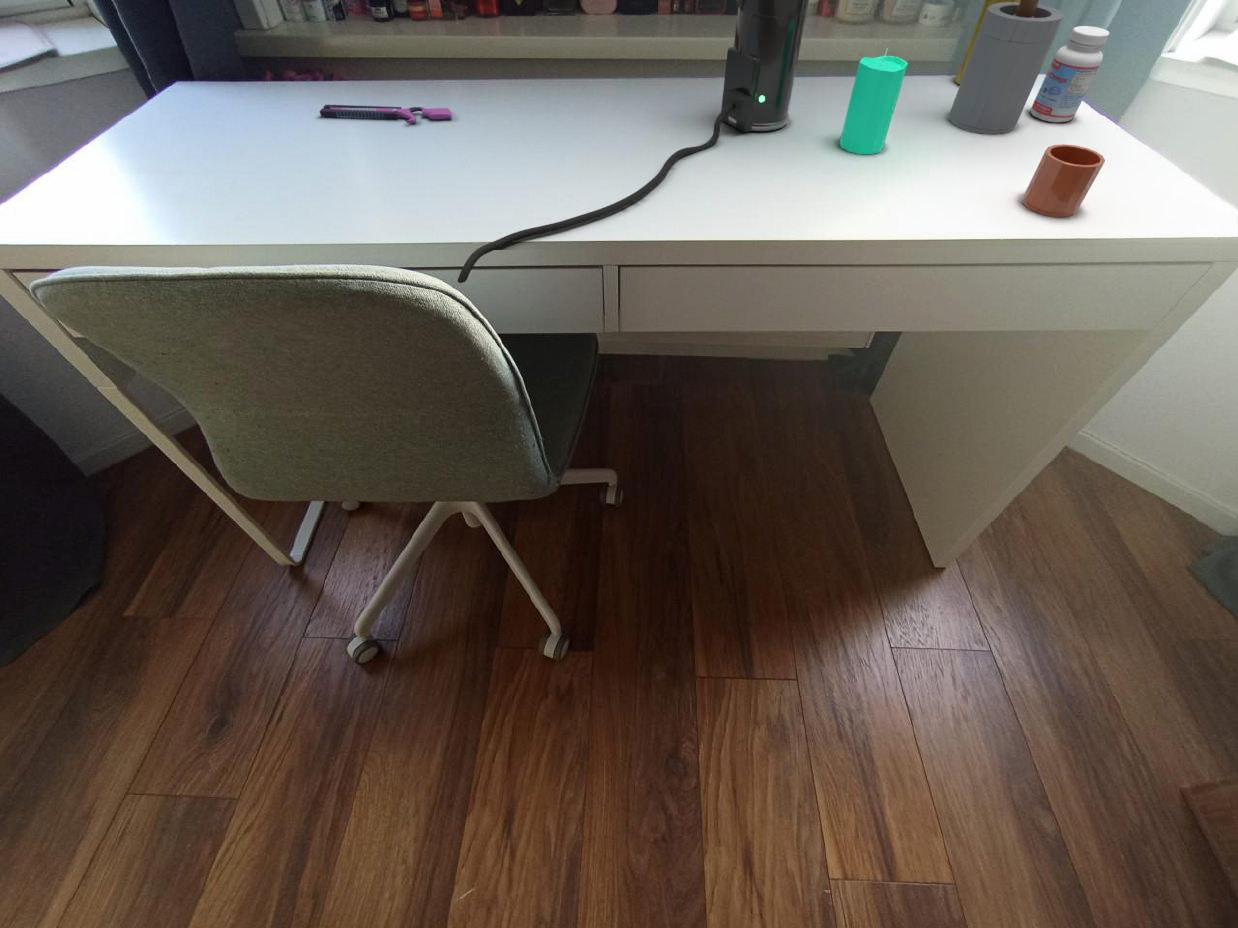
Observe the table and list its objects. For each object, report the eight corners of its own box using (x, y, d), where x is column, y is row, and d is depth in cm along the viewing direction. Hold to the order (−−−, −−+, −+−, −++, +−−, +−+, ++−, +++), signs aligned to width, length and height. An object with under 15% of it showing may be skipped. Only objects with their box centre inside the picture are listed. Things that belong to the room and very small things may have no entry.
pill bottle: (1021, 109, 99) (1058, 25, 91) (1058, 108, 100) (1099, 23, 91) (1042, 124, 95) (1082, 37, 87) (1080, 123, 96) (1125, 36, 87)
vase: (995, 90, 105) (1038, -16, 94) (956, 88, 106) (994, -18, 95) (989, 78, 109) (1029, -25, 98) (951, 75, 110) (987, -27, 99)
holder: (1056, 222, 76) (1083, 171, 71) (1011, 201, 79) (1034, 151, 75) (1087, 209, 78) (1116, 159, 73) (1042, 189, 81) (1067, 140, 77)
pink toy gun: (455, 106, 98) (447, 120, 95) (456, 112, 98) (448, 127, 95) (326, 101, 99) (314, 115, 96) (328, 108, 100) (316, 122, 97)
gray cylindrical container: (986, 139, 92) (1033, 25, 81) (935, 117, 97) (973, 8, 87) (1028, 126, 95) (1078, 14, 84) (976, 106, 100) (1017, -1, 90)
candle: (884, 140, 92) (912, 44, 83) (881, 157, 88) (910, 58, 79) (841, 135, 93) (865, 39, 84) (837, 151, 89) (861, 53, 80)
